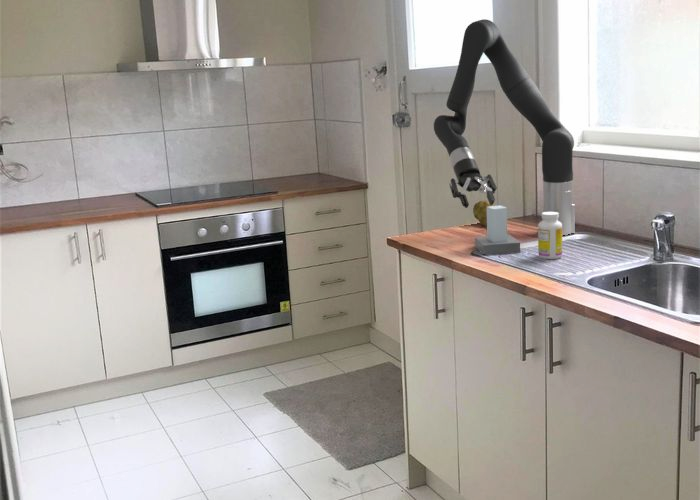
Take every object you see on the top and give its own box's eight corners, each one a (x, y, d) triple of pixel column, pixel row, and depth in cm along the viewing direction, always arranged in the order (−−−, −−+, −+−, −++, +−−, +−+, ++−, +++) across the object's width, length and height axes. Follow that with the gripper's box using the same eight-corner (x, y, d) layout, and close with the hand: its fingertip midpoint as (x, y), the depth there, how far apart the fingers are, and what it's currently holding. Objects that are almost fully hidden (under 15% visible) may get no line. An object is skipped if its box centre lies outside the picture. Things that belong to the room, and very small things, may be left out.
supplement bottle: (560, 253, 227) (560, 210, 224) (563, 259, 220) (564, 215, 217) (536, 254, 227) (536, 211, 224) (539, 260, 221) (539, 215, 218)
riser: (509, 244, 241) (509, 234, 241) (520, 252, 231) (520, 242, 230) (474, 246, 241) (474, 237, 240) (483, 255, 230) (483, 245, 229)
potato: (481, 229, 263) (481, 206, 261) (470, 222, 276) (470, 200, 274) (505, 227, 264) (505, 204, 262) (493, 220, 277) (493, 198, 275)
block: (500, 237, 238) (500, 205, 235) (507, 240, 233) (507, 207, 231) (487, 239, 237) (486, 206, 234) (493, 242, 232) (493, 209, 230)
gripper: (446, 159, 248) (461, 200, 239) (487, 155, 251) (504, 195, 243) (441, 174, 254) (455, 214, 246) (481, 169, 257) (497, 209, 249)
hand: (479, 204), depth 244 cm, fingers open, 8 cm apart
